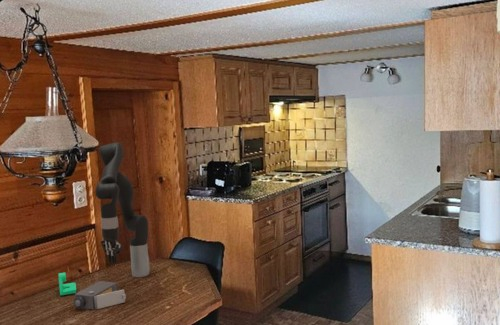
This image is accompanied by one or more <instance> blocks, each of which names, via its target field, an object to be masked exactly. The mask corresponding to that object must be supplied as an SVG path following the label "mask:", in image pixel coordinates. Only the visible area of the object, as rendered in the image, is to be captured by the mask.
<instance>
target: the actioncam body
mask: <svg viewBox="0 0 500 325" xmlns="http://www.w3.org/2000/svg"><path fill="white" fill-rule="evenodd" d="M114 291H118V283H117V282H111V281H102V280H99V281H97V282H95V283H93V284H91V285H89V286H88V287H86V288H84V289H82V290H80V291H78V292H76V293H74V299H73V305H74V306H75V308H76V309H80V308H83V309H82V310H88V309H92V310H91V311H95V310H94V309H95V304H94V296H98V295H102V294H106V293H110V292H114Z"/></svg>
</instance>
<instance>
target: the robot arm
mask: <svg viewBox="0 0 500 325" xmlns="http://www.w3.org/2000/svg"><path fill="white" fill-rule="evenodd" d="M124 153H125V152H124V148H123V145H122V144H121V142H118V141H117V142H112V143H108V144H107V143H106V144H104V145H101V146H100V147H99V155H100V157H101V160H102V163H103V165H104V168H103V170H102V173H101V179H100V180H99V182H98V183H97V184H96V187H95V190H94V191H95V192H94V194H95V197H96V198H97V199H99V200H110V199H111V201H110V202H107V203H103V204H102V205H101V206H100V216H101V221H100V222H101V223H100V224H101V236H102V238H103V240H101V241H100V244H101V246H102V249H103V252H104V253H105V254H106V255H107V261H108V263H109V264H110V263H111V264H116V263H117V255H120V254H121V253H120V252H121V250H122V247H123V245H122V243H119V240H118V237H119V235H120V232H119V219H118V210H117V208H118V207H117V205H118V204H119V208H120V209H121V214H122V217H123V222H124V226H125V228H126V229H127V230H128V232H134V237H131V238H130V239H129V252H130V268H131V276H132V277H133V278H143V277H146V276H149V274H150V270H151V269H150V256H149V253H148V251H149V250H148V238H149V223H148V222H149V221H148V219H147V217H146V216H145V215H143V214H136V213H135V211H134V207H133V200H134V194H135V193H134V192H135V191H134V189H133V185H132V183H131V180H130V179H129V177H127V176H125V175H124V174H123V173H122V172H121V171H119V169H120V168H121V164H122V162H123V159H124V156H125V155H124Z"/></svg>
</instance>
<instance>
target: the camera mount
mask: <svg viewBox="0 0 500 325" xmlns="http://www.w3.org/2000/svg"><path fill="white" fill-rule="evenodd" d="M66 275H67V274H66V272H58V286H59V287H58V288H59V296H65V295H72V294H76V293H77V284H76V282H70V283H64V282H67V276H66Z"/></svg>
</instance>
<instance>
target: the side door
mask: <svg viewBox="0 0 500 325" xmlns="http://www.w3.org/2000/svg"><path fill="white" fill-rule="evenodd" d="M126 299H127V295H126V293H125V289H119V290H118V289H117V291H114V292H110V293H106V294H102V295H98V296H94V304H95V310H94V311H96V310H99V309H103V308H108V307H111V306H116V305H119V304H122V303H126Z"/></svg>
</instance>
